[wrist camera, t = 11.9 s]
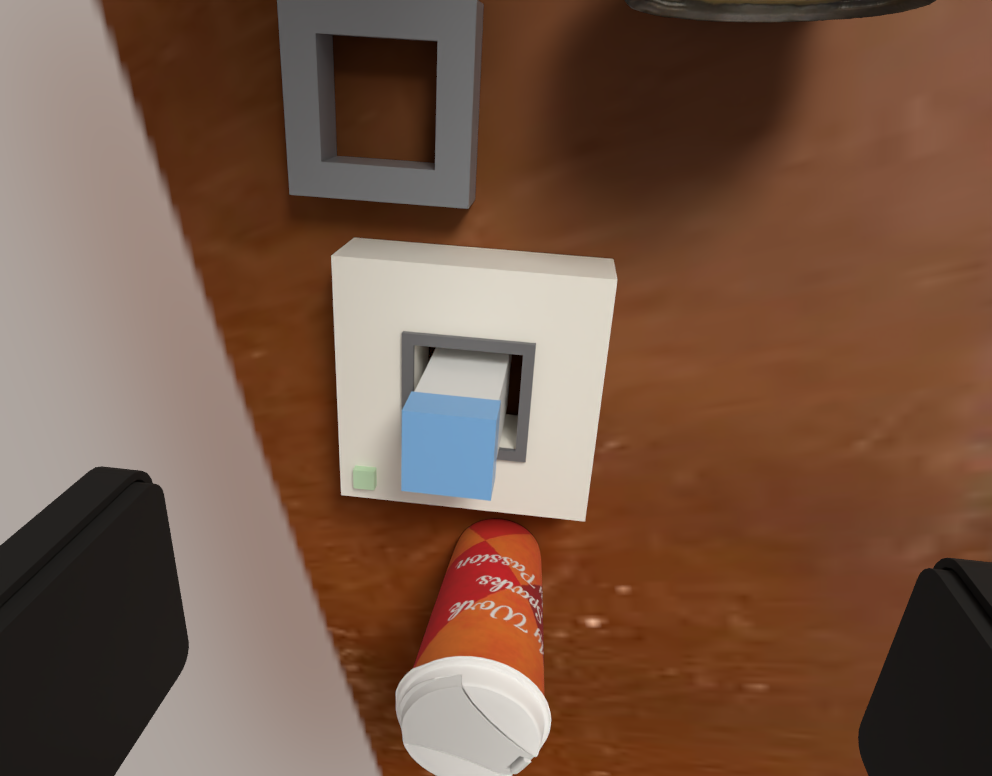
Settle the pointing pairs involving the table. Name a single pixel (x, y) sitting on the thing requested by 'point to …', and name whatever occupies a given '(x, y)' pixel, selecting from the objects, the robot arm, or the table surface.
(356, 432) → the port panel
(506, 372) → the plug
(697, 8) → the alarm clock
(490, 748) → the paper cup
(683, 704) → the table surface
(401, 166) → the grey square frame
